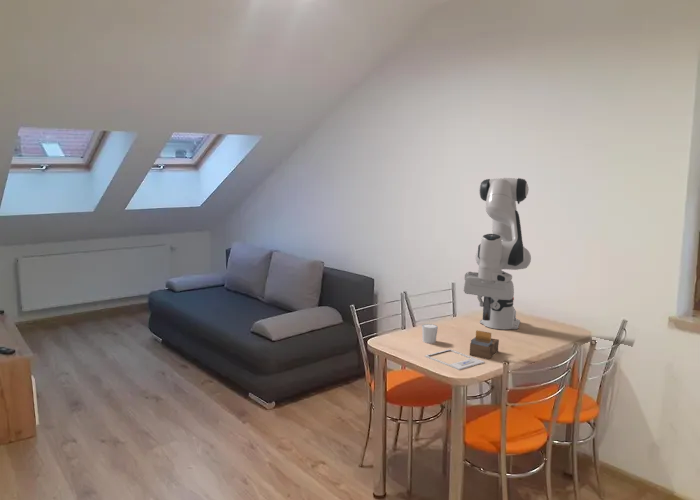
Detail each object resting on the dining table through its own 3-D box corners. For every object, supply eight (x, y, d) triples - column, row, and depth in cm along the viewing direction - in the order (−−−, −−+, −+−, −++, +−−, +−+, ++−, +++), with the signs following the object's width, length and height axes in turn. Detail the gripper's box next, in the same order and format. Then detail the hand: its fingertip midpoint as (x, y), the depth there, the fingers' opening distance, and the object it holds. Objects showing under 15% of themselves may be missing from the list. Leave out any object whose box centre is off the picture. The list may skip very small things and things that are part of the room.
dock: (479, 347, 235) (480, 336, 234) (498, 351, 230) (498, 339, 230) (469, 355, 224) (470, 343, 224) (488, 359, 220) (489, 347, 220)
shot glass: (437, 340, 244) (438, 324, 243) (436, 344, 237) (436, 328, 236) (422, 338, 246) (423, 323, 245) (420, 342, 239) (420, 327, 238)
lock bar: (475, 340, 227) (475, 330, 227) (492, 343, 224) (492, 333, 223) (470, 343, 223) (471, 332, 223) (488, 346, 219) (488, 336, 219)
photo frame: (459, 368, 207) (424, 354, 221) (458, 371, 207) (424, 357, 221) (484, 361, 216) (449, 348, 230) (484, 363, 216) (449, 351, 230)
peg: (484, 318, 230) (485, 294, 228) (491, 319, 228) (492, 295, 227) (481, 319, 227) (483, 295, 226) (488, 320, 226) (490, 297, 224)
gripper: (462, 272, 228) (460, 304, 230) (511, 278, 217) (509, 312, 219) (467, 269, 233) (465, 301, 235) (516, 276, 222) (513, 309, 224)
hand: (487, 307), depth 227 cm, fingers closed on peg, 3 cm apart
